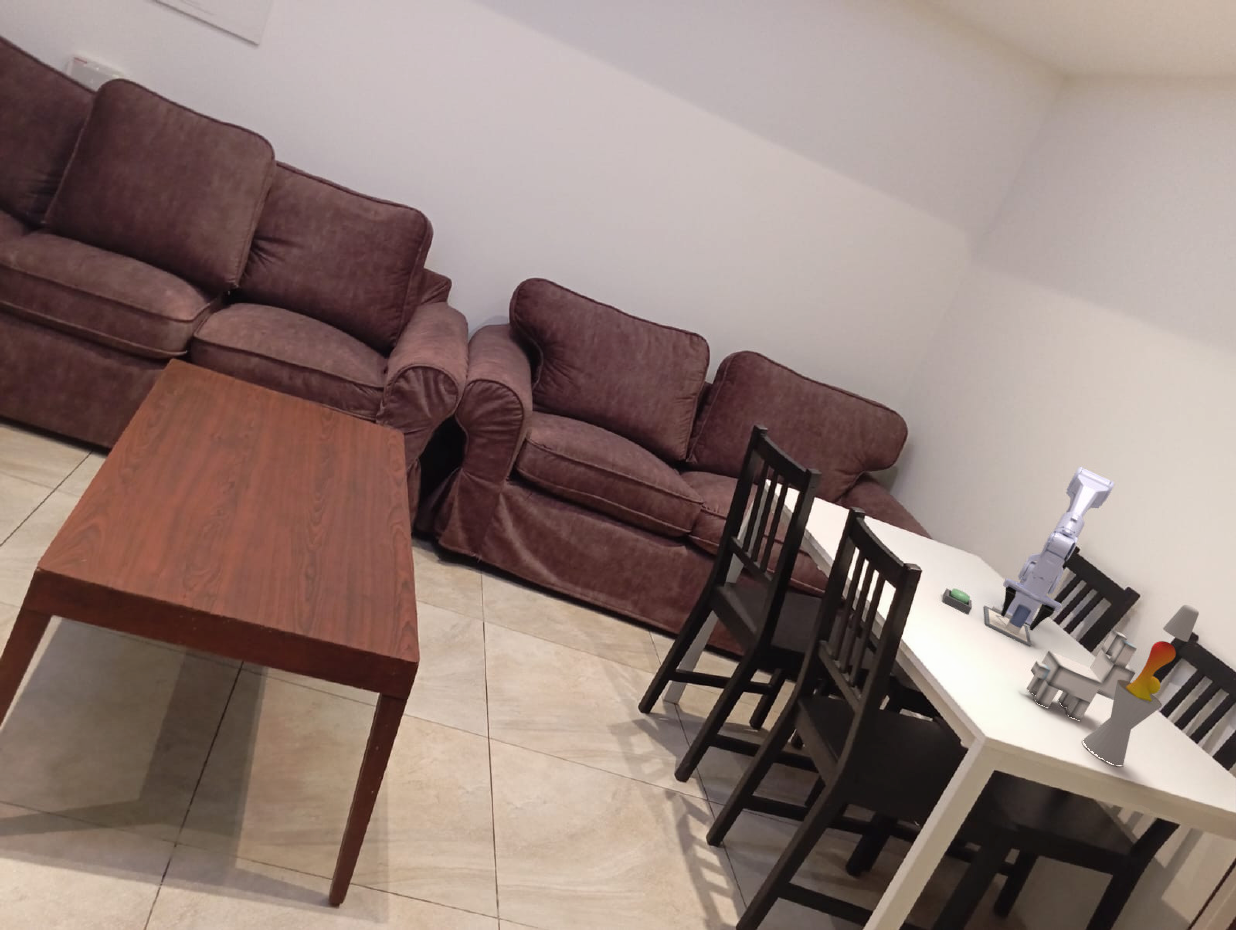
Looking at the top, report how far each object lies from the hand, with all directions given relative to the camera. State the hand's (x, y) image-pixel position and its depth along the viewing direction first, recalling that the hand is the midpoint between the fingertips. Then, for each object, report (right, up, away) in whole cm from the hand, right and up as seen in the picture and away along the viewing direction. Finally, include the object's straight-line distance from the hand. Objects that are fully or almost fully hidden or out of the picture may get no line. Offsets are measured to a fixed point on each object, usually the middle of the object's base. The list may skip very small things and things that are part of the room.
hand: (1016, 622), depth 263 cm
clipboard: (-1, -2, +5) cm, 5 cm away
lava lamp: (-3, -19, -53) cm, 57 cm away
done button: (-13, +5, +5) cm, 15 cm away
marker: (-1, -2, +1) cm, 3 cm away
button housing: (-14, +4, +6) cm, 15 cm away
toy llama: (-6, -13, -38) cm, 40 cm away
